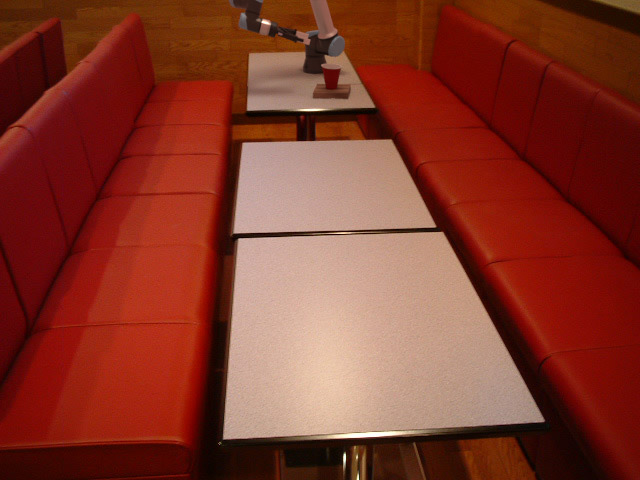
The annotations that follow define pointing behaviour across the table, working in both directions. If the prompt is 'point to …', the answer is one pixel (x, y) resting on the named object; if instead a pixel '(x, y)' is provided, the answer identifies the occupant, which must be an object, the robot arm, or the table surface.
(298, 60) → the table surface
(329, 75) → the plastic cup
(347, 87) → the walnut stand
